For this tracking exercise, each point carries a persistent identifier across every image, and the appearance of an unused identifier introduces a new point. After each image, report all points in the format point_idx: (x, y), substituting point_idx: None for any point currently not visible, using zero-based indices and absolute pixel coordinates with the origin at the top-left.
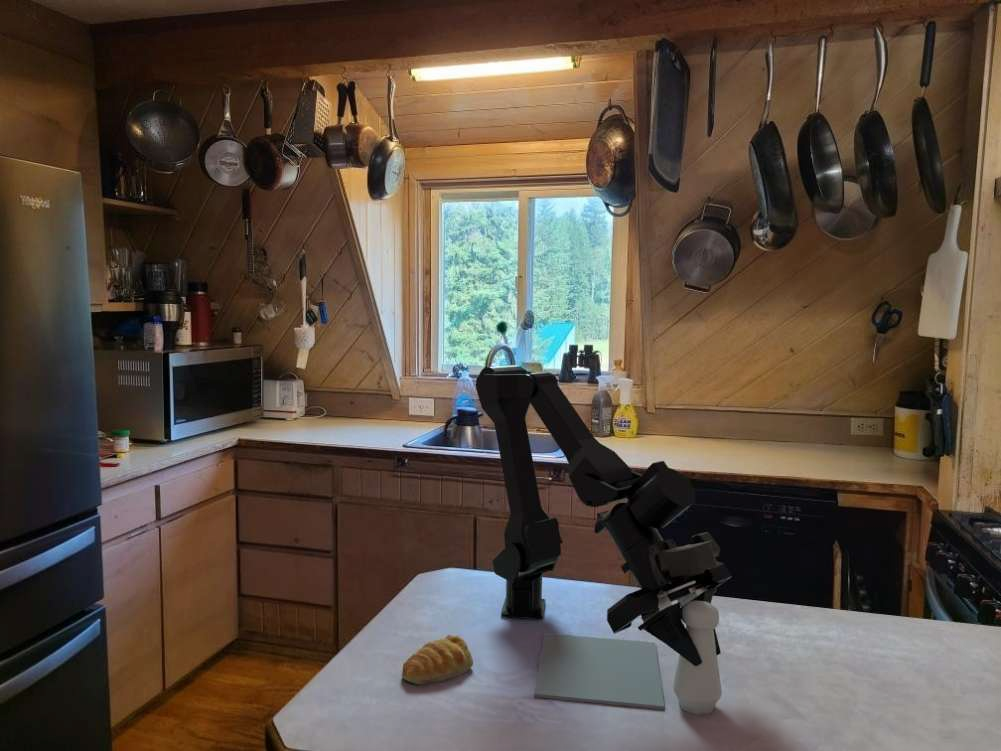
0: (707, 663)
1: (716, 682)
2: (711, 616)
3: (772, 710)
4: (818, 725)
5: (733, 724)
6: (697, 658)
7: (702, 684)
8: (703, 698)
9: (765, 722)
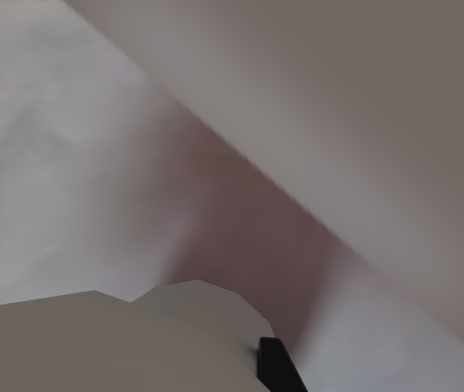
0: (222, 320)
1: (192, 286)
2: (149, 338)
3: (49, 183)
4: (39, 72)
5: (202, 229)
6: (290, 360)
7: (254, 321)
8: (255, 310)
9: (124, 170)
